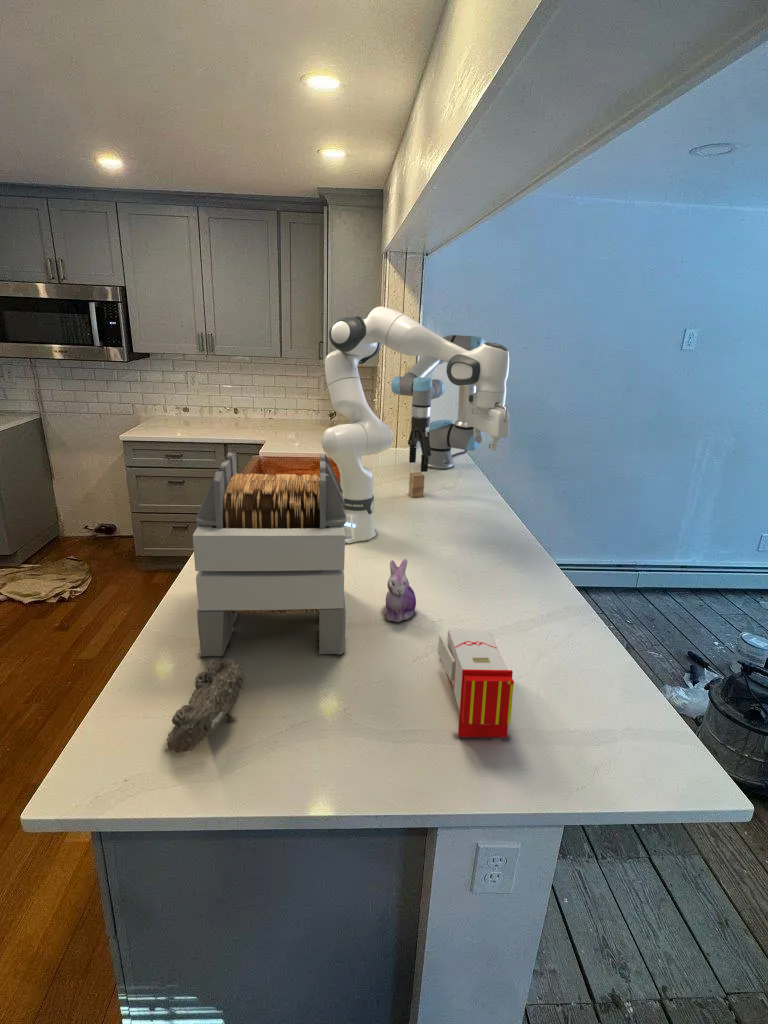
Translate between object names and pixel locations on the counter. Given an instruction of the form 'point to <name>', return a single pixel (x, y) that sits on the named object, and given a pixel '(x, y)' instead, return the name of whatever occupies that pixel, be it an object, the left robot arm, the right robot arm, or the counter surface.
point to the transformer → (270, 552)
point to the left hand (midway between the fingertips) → (484, 446)
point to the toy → (478, 682)
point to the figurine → (399, 594)
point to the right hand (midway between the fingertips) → (418, 466)
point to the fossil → (206, 705)
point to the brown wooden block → (416, 484)
